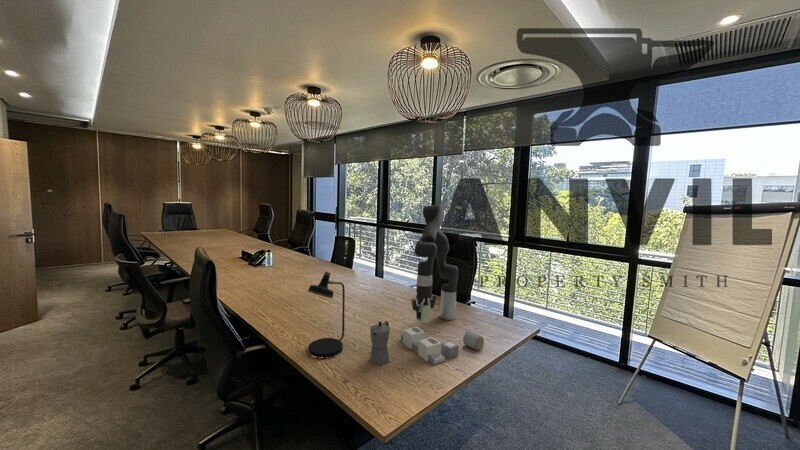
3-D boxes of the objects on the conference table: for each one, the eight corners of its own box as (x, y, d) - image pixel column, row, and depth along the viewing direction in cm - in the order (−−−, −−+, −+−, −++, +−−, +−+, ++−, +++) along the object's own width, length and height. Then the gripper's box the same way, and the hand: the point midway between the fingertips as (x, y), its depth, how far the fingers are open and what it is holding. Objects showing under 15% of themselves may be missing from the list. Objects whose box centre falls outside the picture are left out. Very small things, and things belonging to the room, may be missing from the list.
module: (423, 317, 156) (424, 301, 155) (429, 321, 151) (430, 304, 151) (416, 319, 153) (416, 303, 152) (422, 322, 149) (422, 306, 148)
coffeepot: (382, 369, 135) (383, 329, 133) (363, 364, 139) (364, 325, 137) (396, 353, 149) (397, 316, 148) (378, 349, 153) (379, 313, 151)
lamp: (298, 353, 147) (298, 272, 143) (332, 336, 165) (333, 264, 161) (323, 364, 138) (323, 278, 134) (355, 345, 156) (357, 269, 153)
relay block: (448, 350, 154) (449, 340, 154) (458, 355, 150) (458, 344, 149) (440, 353, 150) (440, 343, 150) (450, 359, 146) (450, 348, 145)
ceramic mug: (476, 352, 152) (477, 337, 152) (462, 346, 158) (463, 331, 157) (487, 346, 159) (488, 331, 159) (473, 340, 165) (474, 326, 165)
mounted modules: (416, 339, 164) (416, 326, 164) (440, 357, 147) (441, 342, 146) (403, 342, 160) (403, 329, 159) (426, 361, 143) (427, 346, 142)
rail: (411, 336, 167) (411, 331, 167) (445, 361, 143) (445, 355, 143) (400, 339, 164) (400, 334, 163) (433, 365, 140) (433, 358, 140)
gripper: (431, 279, 157) (430, 312, 159) (407, 283, 150) (406, 317, 152) (441, 283, 151) (439, 317, 153) (416, 287, 144) (415, 323, 145)
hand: (423, 317), depth 152 cm, fingers closed on module, 4 cm apart
